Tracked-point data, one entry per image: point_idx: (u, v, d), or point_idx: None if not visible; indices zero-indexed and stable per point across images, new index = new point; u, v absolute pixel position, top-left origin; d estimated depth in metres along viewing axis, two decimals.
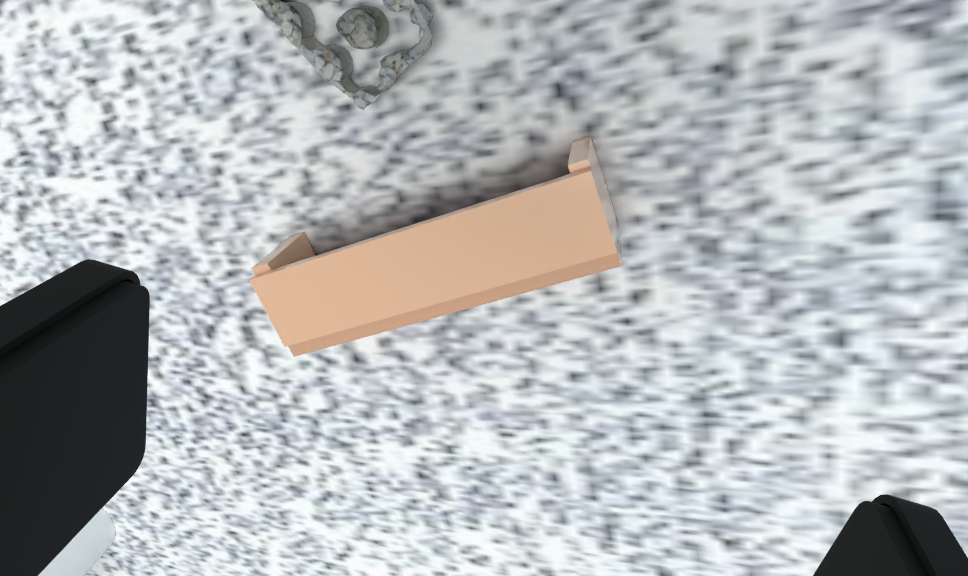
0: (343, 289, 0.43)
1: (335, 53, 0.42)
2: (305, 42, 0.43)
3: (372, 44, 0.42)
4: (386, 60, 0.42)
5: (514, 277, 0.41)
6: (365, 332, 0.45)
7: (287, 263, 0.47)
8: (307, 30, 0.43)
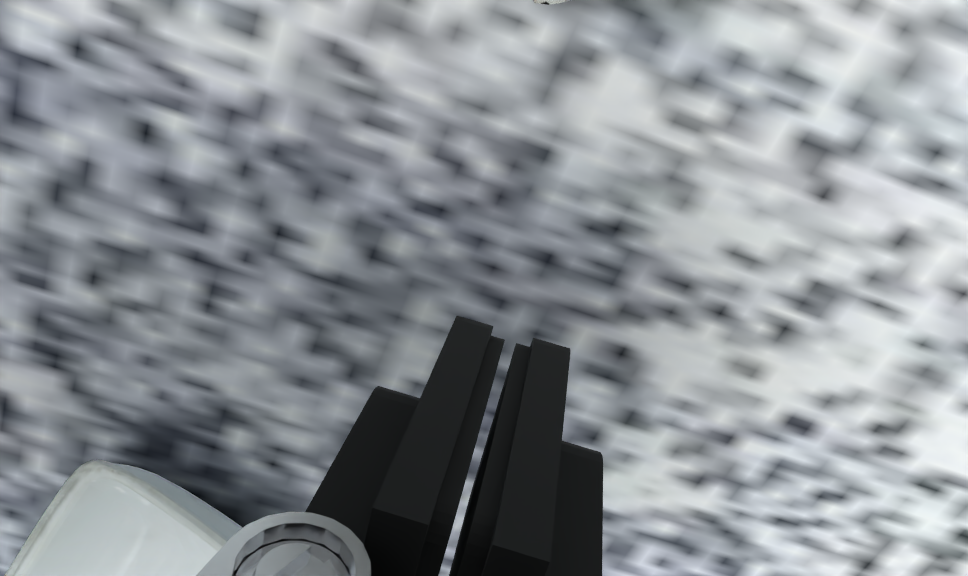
0: None
1: None
2: None
3: None
4: None
5: None
6: None
7: None
8: None
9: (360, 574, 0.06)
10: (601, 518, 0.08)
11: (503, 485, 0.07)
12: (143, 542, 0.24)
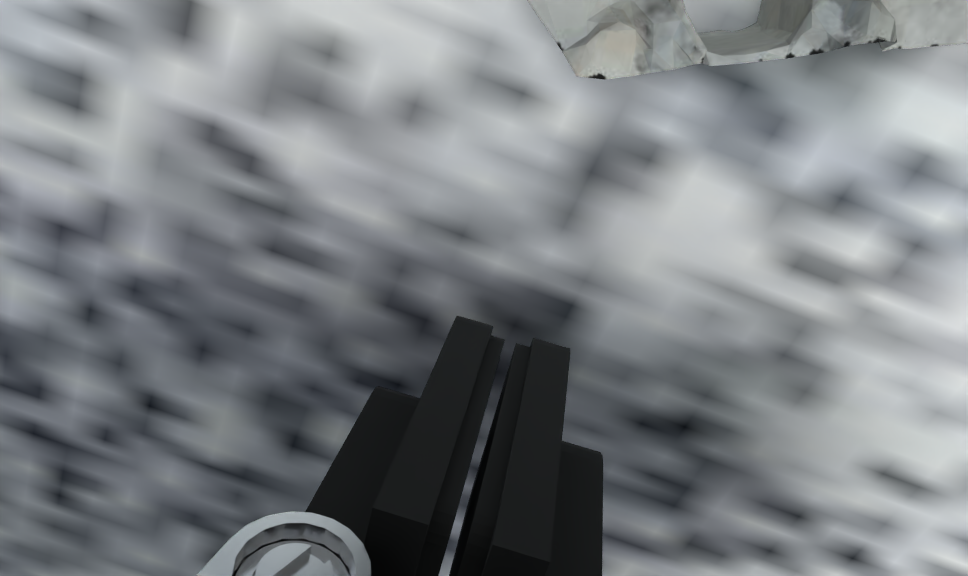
0: None
1: None
2: None
3: None
4: None
5: None
6: None
7: None
8: None
9: (360, 574, 0.06)
10: (601, 518, 0.08)
11: (503, 485, 0.07)
12: None
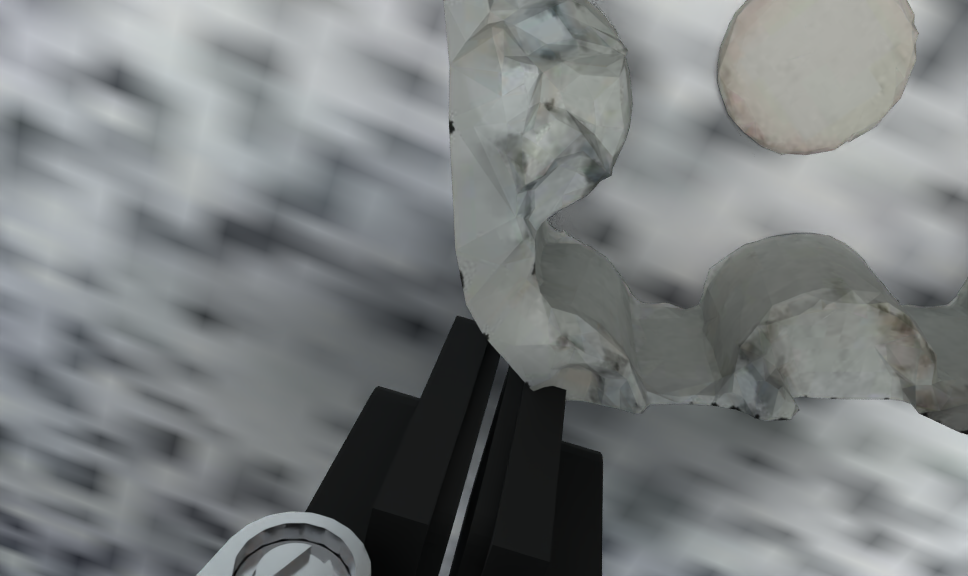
0: None
1: None
2: None
3: None
4: None
5: None
6: None
7: None
8: None
9: (360, 574, 0.06)
10: (601, 518, 0.08)
11: (502, 485, 0.07)
12: None
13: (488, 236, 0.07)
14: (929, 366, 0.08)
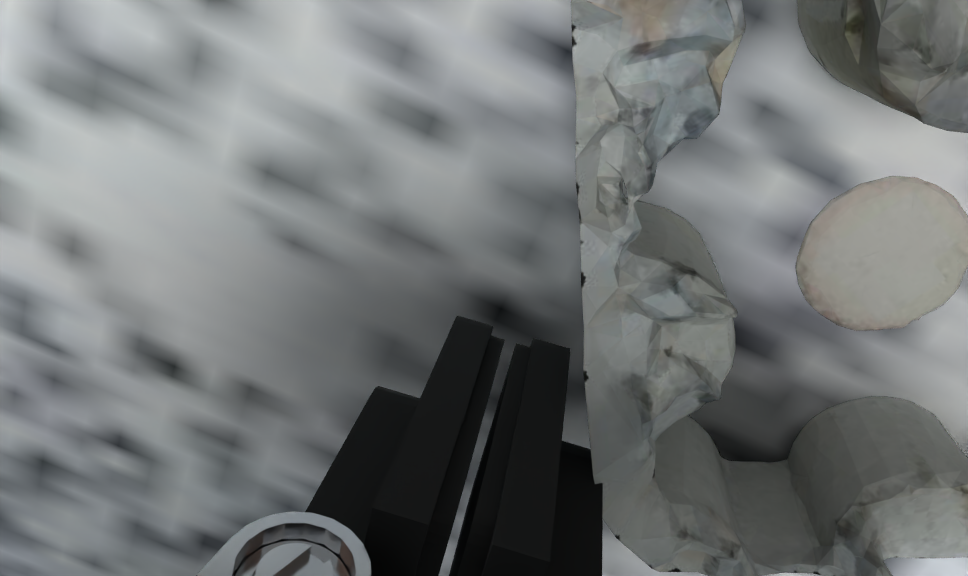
0: None
1: None
2: None
3: None
4: None
5: None
6: None
7: None
8: None
9: (360, 574, 0.06)
10: (601, 518, 0.08)
11: (503, 485, 0.07)
12: None
13: (620, 461, 0.08)
14: None
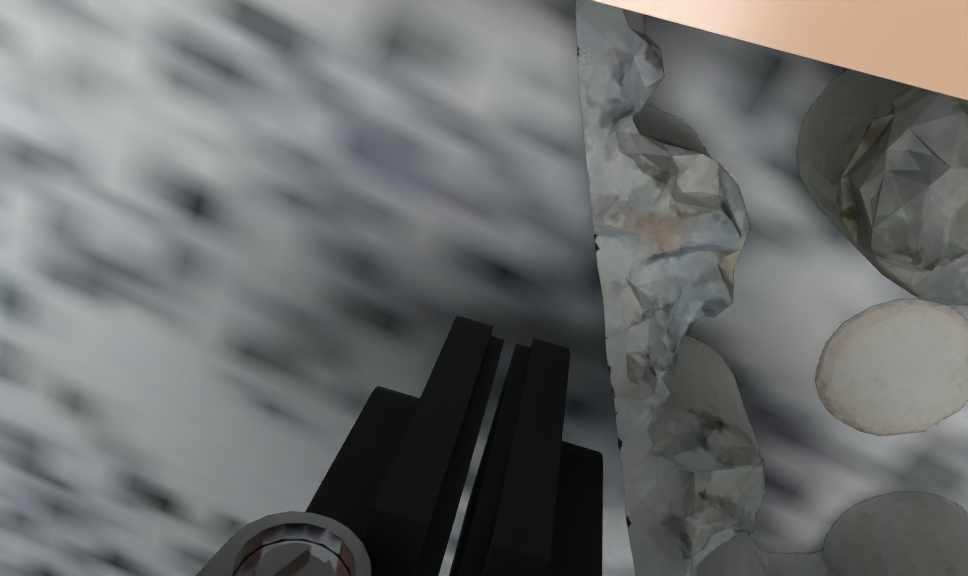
0: None
1: None
2: None
3: None
4: None
5: None
6: None
7: None
8: None
9: (360, 574, 0.06)
10: (601, 518, 0.08)
11: (503, 485, 0.07)
12: None
13: None
14: None
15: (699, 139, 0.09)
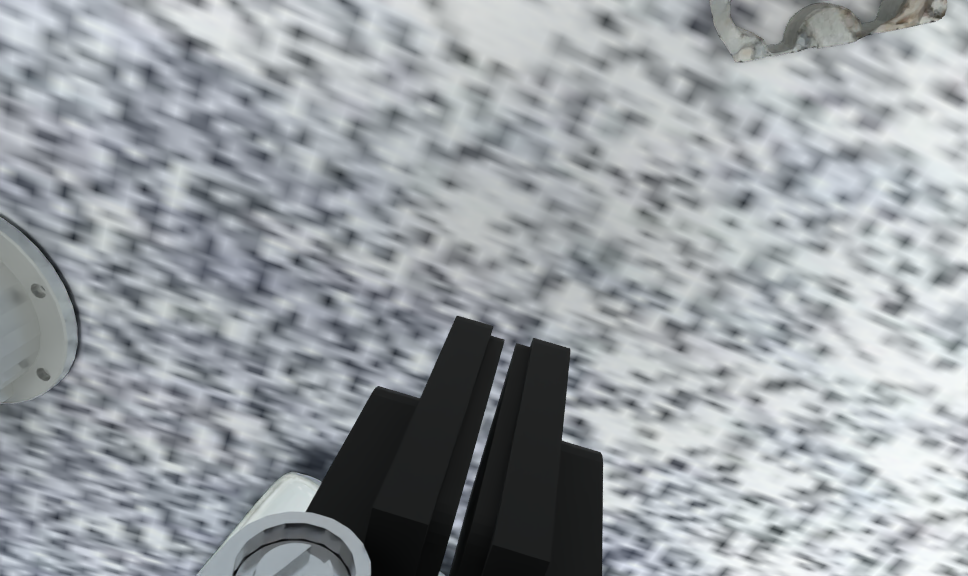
0: None
1: None
2: None
3: None
4: None
5: None
6: None
7: None
8: None
9: (360, 574, 0.06)
10: (601, 518, 0.08)
11: (503, 485, 0.07)
12: None
13: (719, 2, 0.25)
14: (857, 23, 0.25)
15: None
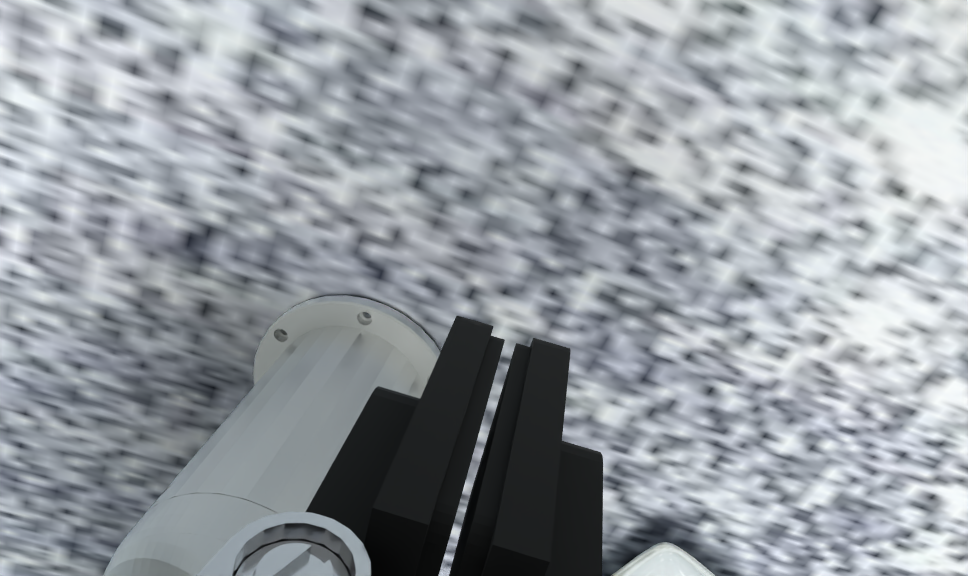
0: None
1: None
2: None
3: None
4: None
5: None
6: None
7: None
8: None
9: (360, 574, 0.06)
10: (601, 518, 0.08)
11: (503, 485, 0.07)
12: None
13: None
14: None
15: None
